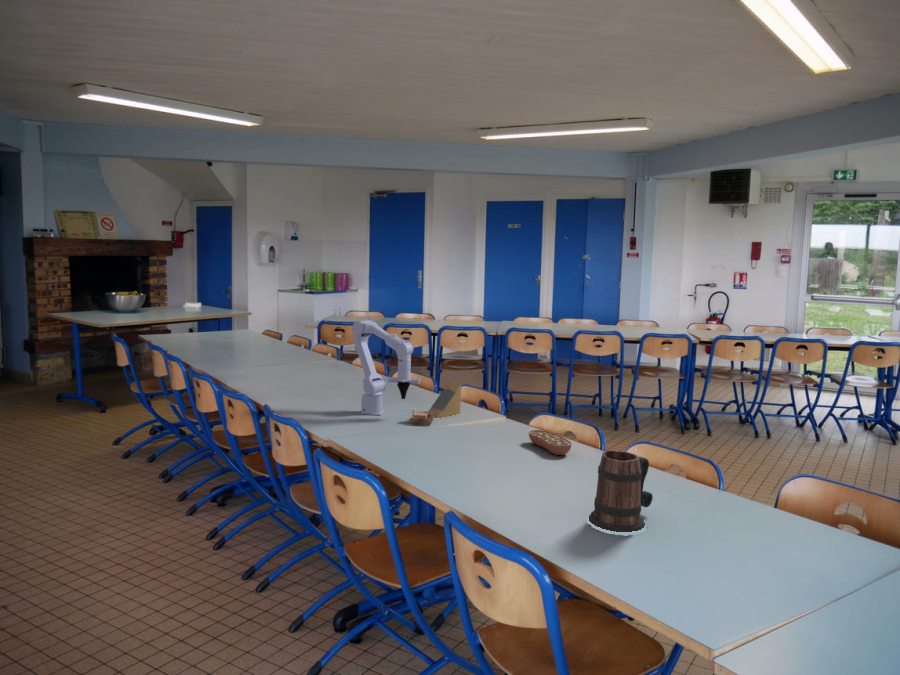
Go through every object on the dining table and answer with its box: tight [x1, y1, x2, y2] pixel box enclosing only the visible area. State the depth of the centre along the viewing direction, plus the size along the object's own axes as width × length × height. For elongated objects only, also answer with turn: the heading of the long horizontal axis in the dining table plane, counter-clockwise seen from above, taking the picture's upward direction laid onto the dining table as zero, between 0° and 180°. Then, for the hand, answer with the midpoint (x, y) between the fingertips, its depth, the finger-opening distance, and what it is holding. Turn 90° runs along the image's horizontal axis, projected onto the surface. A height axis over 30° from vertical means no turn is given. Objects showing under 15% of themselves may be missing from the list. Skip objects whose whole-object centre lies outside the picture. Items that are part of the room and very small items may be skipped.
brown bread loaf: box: [528, 429, 572, 456], centre depth 253 cm, size 23×10×5 cm, turn 24°
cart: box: [411, 406, 428, 419], centre depth 288 cm, size 6×6×6 cm
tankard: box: [588, 450, 653, 532], centre depth 184 cm, size 24×17×20 cm
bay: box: [409, 414, 434, 426], centre depth 288 cm, size 9×10×3 cm
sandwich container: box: [426, 381, 462, 419], centre depth 302 cm, size 9×15×15 cm, turn 134°
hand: (403, 398), depth 293 cm, fingers closed
